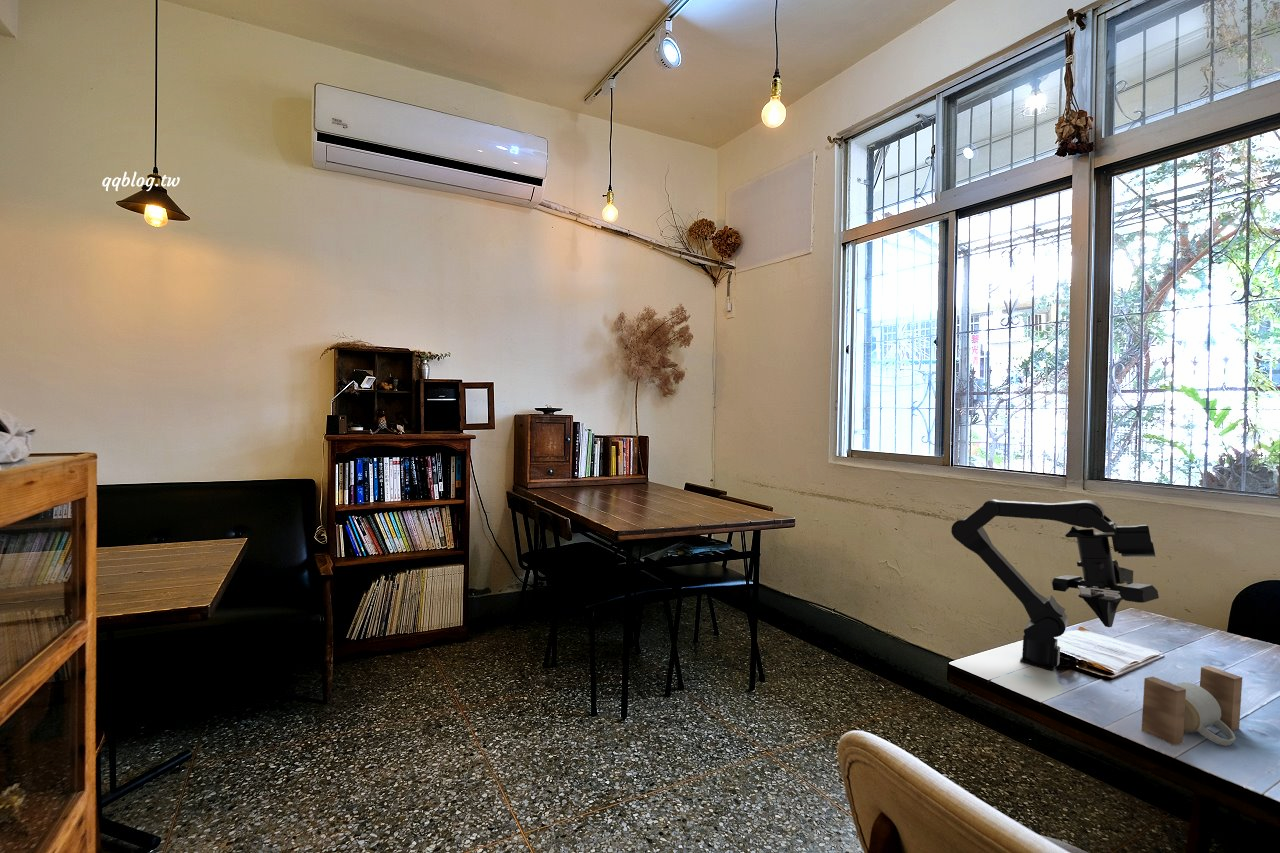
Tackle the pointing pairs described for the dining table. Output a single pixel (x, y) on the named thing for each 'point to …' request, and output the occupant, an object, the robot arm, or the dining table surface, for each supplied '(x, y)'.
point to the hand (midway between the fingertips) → (1108, 626)
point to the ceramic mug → (1204, 714)
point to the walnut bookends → (1169, 703)
